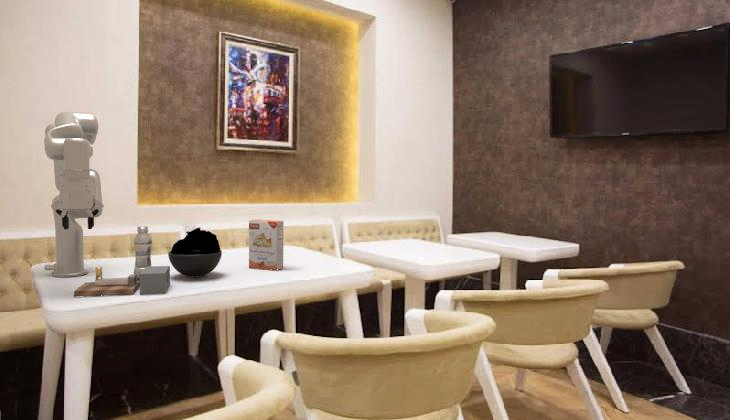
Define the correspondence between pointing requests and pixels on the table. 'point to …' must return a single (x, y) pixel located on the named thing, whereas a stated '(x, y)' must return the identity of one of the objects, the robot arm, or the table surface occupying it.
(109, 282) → the bolt
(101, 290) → the brown wooden flat slab
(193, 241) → the bowl of black rocks
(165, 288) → the block
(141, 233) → the plastic bottle
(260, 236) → the cracker box
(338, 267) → the table surface
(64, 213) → the robot arm
